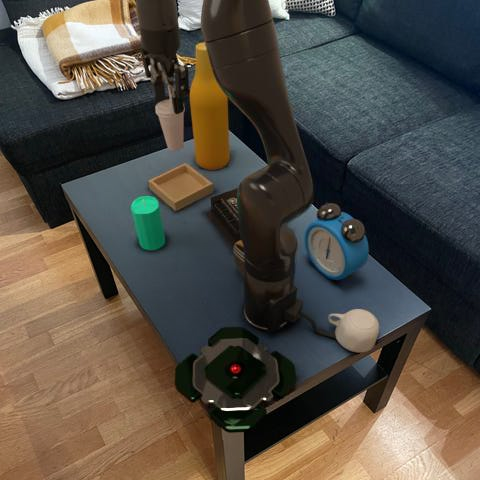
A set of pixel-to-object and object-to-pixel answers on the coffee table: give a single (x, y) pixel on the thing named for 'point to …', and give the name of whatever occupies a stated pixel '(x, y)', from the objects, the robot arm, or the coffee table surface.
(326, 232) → the alarm clock
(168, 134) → the smoothie
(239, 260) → the doughnut
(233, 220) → the black electronic device
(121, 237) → the coffee table surface
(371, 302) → the coffee table surface
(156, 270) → the coffee table surface
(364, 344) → the teacup
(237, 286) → the coffee table surface
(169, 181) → the tray
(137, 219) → the candle
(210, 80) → the beer bottle
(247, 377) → the four-lobed dark green device
